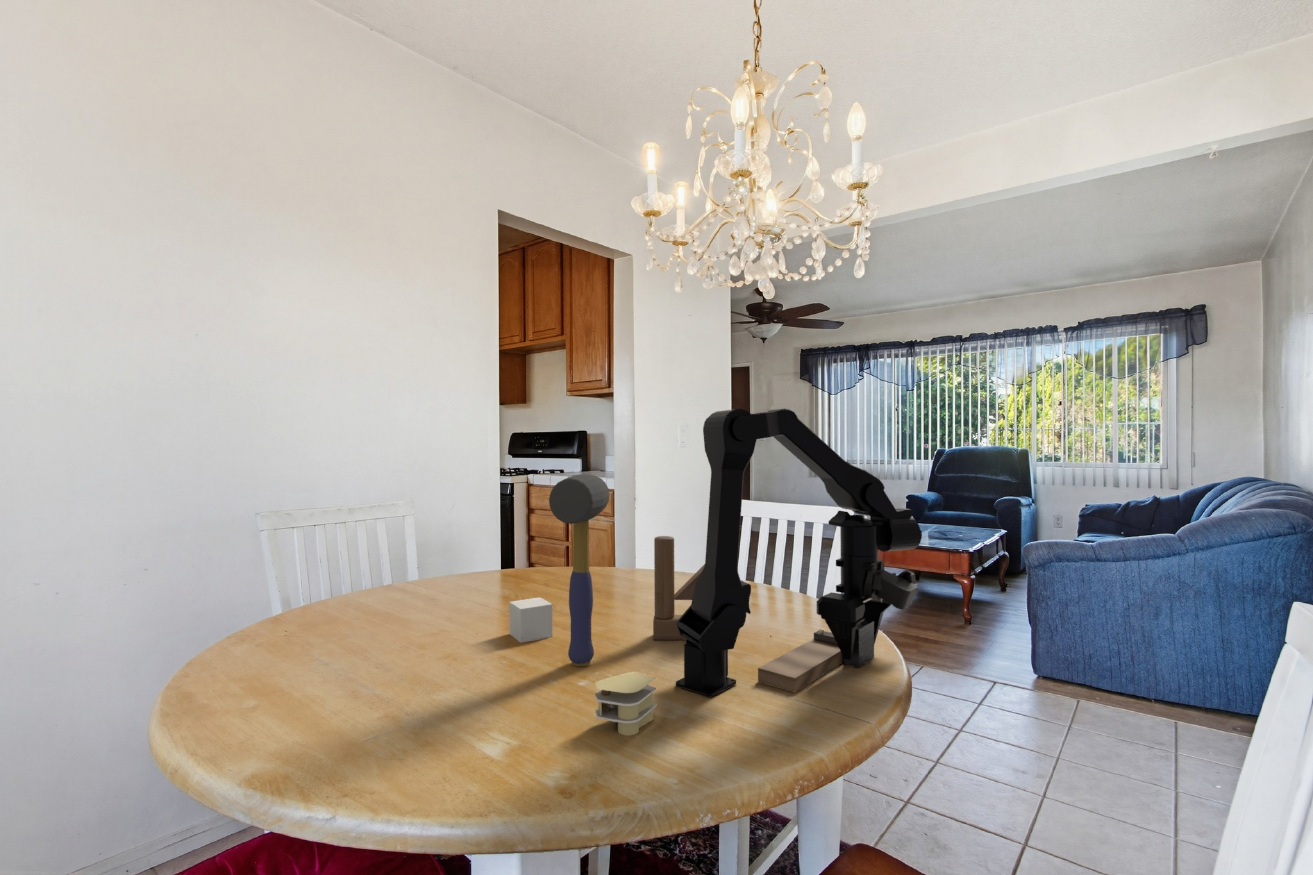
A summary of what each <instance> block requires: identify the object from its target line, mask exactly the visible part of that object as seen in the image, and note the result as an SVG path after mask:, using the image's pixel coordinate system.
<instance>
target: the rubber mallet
mask: <svg viewBox="0 0 1313 875" xmlns="http://www.w3.org/2000/svg"><path fill="white" fill-rule="evenodd" d="M610 495H611V494H610V490H609V487H608V485H607V483H606V482H605V481H604V480H603V478H601V477H600V476H597V475H595V474H585V473H582V474H574V475H571V476H568V477H566V478H564V479H562V480H560V481H558V482H557V483H556V484H555V485H554V486H553V487H552V489H551V491H550V493H549V497H548V498H549V499H548V504H549V508H550V511H551V513H552V515H553V516H554V517H555V518H556V519H557V520H558V521H560V522H562V523H564V524H569V525H572V524H573V526H572V527H573V528H572V529H573V532H572V533H573V534H572V535H573V537H572V538H573V540H572V543H573V544H572V547H573V549H572V571H571V574H570V578H569V580H570V581H569V589H568V590H569V591H568V609H569V616H570V642H569V646H568V653H567V654H568V659H569V661H571V664H572V665H573V666H576V667H584V666H589V665H590V664H591V661H592V659H593V658H594V655H595V651H594V650H595V649H594V646H593V645H594V644H593V642H592V641H593V640H592V617H593V614H592V613H593V607H594V592H593V581H592V575H591V571H590V526H589V525H590V524H589V523H590V522H589V521H590V520H592V519H593V518H596V517H597V516H599V515H600V514H601V513H602V512H603V511H604V510H605V508H607V505H608V504H609V501H610Z"/></svg>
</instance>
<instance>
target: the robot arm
mask: <svg viewBox="0 0 1313 875" xmlns="http://www.w3.org/2000/svg"><path fill="white" fill-rule="evenodd" d="M702 432H703V433H702V434H703V444H704V452H705V454H706V455H705V456H706V458H707V461H708V463H709V467H710V485H709V498H708V516H707V517H708V518H707V530H706V532H707V533H706V542H705V543H706V546H705V557H704V558H705V559H704V560H705V561H704V564H705V566H704V569H703V571H702V573H701V574H700V576H699V578H698V580H697V582H696V585H695V589H694V594H693V598H692V600H691V603H690V606H689V607H687V609H686V610H685V611H684V612H683V613H682V614H681V615H682V616H681V617H680V618H679V620H678V621H677V622H676V625H677V628H678V631H679V634H680V635H681V636H683V637H685V638H686V639H687V640H685V643H684V644H683V677H682V678H679V679H678V680H675V686H676V687H679V688H682V689H685V690H688V691H691V692H695V693H697V694H700V695H702V696H707V697H710V698H711V697H715V696H716V695H719V694H720V693H721V692H724V691H725V690H727V689H729V688H731V687H733V686H735V685H736V684H737V679H735V678H731V677H728V675H729V651H730V650H733V649H735V645H736V643H737V639H738V636H739V632H740V629H741V628H743V627H744V626H745V624H746V620H747V614H749V615H751V613H752V612H751V608H750V599H751V598H750V597H751V595H752V586H751V583H747V582H745V581H743V580H741V577H740V574H739V570H738V565H739V564H738V563H739V551H740V550H739V549H740V536H741V535H740V534H741V533H740V532H741V520H742V519H741V518H742V502H743V487H744V474H745V471H746V468H747V466H748V465H749V462H750V460H751V459H752V458H753V455H754V453H755V448H756V444H757V440H760V439H761V440H762V439H769V438H772V437H773V438H774V439H775V440H776V441H777V442H778V443H779V444H780V445H782V446H783V447H784V448H785V449H786V450H787V451H789V452H790V453H791V454H792V455H794V457H795V458H797V460H799V461H800V462H801V463H803V465H805V467H807V469H809V470H811V471H812V473H813V474H815V475H816V476H817V477H818V478H819V479H820V480H821V481H822V482H823V484H824V488H825V490H826V493H827V494H828V495H829V497H830V498H831V499H832V500H833V502H834V503H835V504H836V505H837V506H838V507H840V508H841V509H843V510H838V511H837V512H836V514H835V515H834V516H833V517H831V518H830V519H829V520H828V524H829V526H834V527H840V535H839V536H840V558H838V559H836V560H835V567H839V568H840V583H839V584H836V585H835V592H829V593H826V594H825V595H822V596H820V597H819V599H817V600H816V614H817V615H818V616H820V617H821V619H822V620H824V621H825V623H826V625H827V627H828V628H829V631H830V633H832V634H833V636H834V638H835V640H836V642H837V645H838V647H839V649H840V651H841V653H842V655H843V657H844V658H845V659H848V660H851V659H852V654H853V647H854V639H855V631H856V627H857V626H858V625H859V624H860V623H861V622H862V621H864V620H865V619H866V620H871V621H874V645H875V644H876V641H877V636H878V634H879V629H880V626H881V623H882V619H883V616H884V613H885V612H886V610H888V609H889V608H890V607H892V606H893V607H894V608H896V609H898V610H905V609H906V608H907V607H910V606H912V602H913V600H914V598H915V596H916V594H918V593H919V589H918V588H919V584H918V583H917V581H916V574H915V573H914V572H911V571H910V570H908V569H905V570H903V571H901V572H900V573H898V574H897V573H896V572H893V573H892V572H889V571H887V570H885V562H883V559H879V551H880V552H894V551H895V552H896V551H909V550H915V549H917V548H918V547H919V546H920V544H921V541H922V536H923V535H922V534H923V532H922V529H921V528H920V525H919V522H918V521H917V520H916V518H914V516H913V513H912V512H913V510H912V509H910V508H903V507H902V508H900V507H899V508H896V507H895V506H894V505H893V503H892V501H891V499H890V498H889V497H888V495H887V493H886V491H885V485H884V483H883V481H881V479H879V478H878V477H877V476H875V475H873V474H872V473H870V472H868V471H867V470H866V469H863V468H861V467H858V466H856V465H853V464H852V463H849V462H847V461H846V460H844V459H843V457H841V456H840V455H839V454H838V452H836V451H835V450H834V449H833V448H831V447H830V445H828V444H827V443H826V442H825V441H824V440H822V439H821V438H820V437H819V436H818V435H817V434H816V433H815V432H814V431H812V429H810V428H809V427H808V426H807V425H806V424H805V423H804V422H803V421H801V419H799V418H798V415H797V414H796V412H795V411H793V410H791V409H790V408H778V409H777V408H776V409H770V410H768V411H765V412H757V413H750V411H748V410H746V409H742V408H736V409H726V410H718V411H714V412H713V413H711V414H710V415H709V416H708V417H706V418H705V421H704V423H703V426H702ZM844 510H845V511H844ZM846 510H849V511H852V512H853V513H855V514H850V512H849V511H846ZM868 516H869V517H868Z"/></svg>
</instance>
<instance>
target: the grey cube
mask: <svg viewBox="0 0 1313 875" xmlns="http://www.w3.org/2000/svg"><path fill="white" fill-rule="evenodd" d="M508 605H509V607H508V608H509V611H508V612H509V617H508V618H509V624H508V625H509V626H508V627H509V635H510V636H511V637H513V638H514V639H515V640H517V641H518V642H519V643H520V644H521V643H527V642H533V641H538V640H544V639H550V638H553V604H552V603H551V602H550V601H547V600H546V599H544V598H542V597H533V598H525V599H521V600H520V599H519V600H513V601H509V602H508Z"/></svg>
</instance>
